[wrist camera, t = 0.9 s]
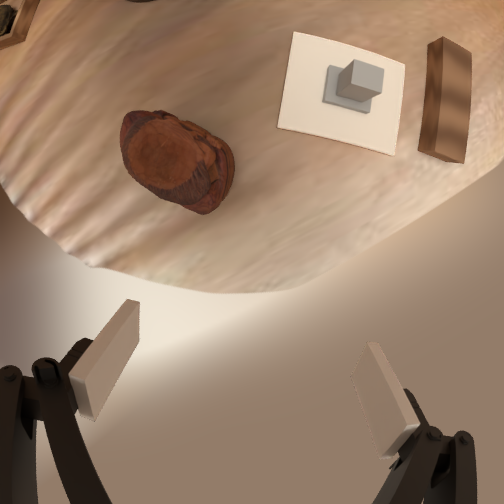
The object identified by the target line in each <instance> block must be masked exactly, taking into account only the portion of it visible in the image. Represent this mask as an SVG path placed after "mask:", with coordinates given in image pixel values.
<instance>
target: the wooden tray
mask: <svg viewBox="0 0 504 504" xmlns="http://www.w3.org/2000/svg"><path fill="white" fill-rule="evenodd" d="M5 1H7V0H0V4H1V3H3V2H5ZM39 1H40V0H23V1H22V3H21V6H20V8H19V10H18V13H17V15H16V18H15V21H14V23H13V26H12V29H11V31H10V33H9V34H6V35H4V36H1V37H0V50H1V49H4V48H6V47H9V46H12V45H14V44H17V43H20V42H23V41H25V39H26V36H27V33H28V30H29V27H30V24H31V21H32V19H33V16H34V13H35V11H36V8H37V6H38V4H39Z"/></svg>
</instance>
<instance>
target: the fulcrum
mask: <svg viewBox="0 0 504 504" xmlns="http://www.w3.org/2000/svg"><path fill="white" fill-rule="evenodd" d="M404 74H405V64H402V63H400V62H397V61H395V60H392V59H389V58H387V57H384V56H381V55H378V54H376V53H373V52H370V51H367V50H364V49H361V48H357V47H354V46H351V45H348V44H344V43H341V42H337V41H333V40H329V39H325V38H321V37H317V36H313V35H308V34H304V33H299V32H294V33H293V38H292V44H291V49H290V55H289V61H288V67H287V73H286V79H285V84H284V90H283V96H282V102H281V107H280V113H279V119H278V125H277V128H280V129H285V130H290V131H295V132H300V133H305V134H310V135H314V136H319V137H323V138H327V139H331V140H336V141H340V142H344V143H347V144H351V145H355V146H359V147H362V148H366V149H369V150H373V151H376V152H380V153H383V154H386V155H390V156H394V153H395V147H396V141H397V135H398V128H399V121H400V113H401V105H402V96H403V86H404Z"/></svg>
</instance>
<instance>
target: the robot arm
mask: <svg viewBox="0 0 504 504" xmlns="http://www.w3.org/2000/svg"><path fill="white" fill-rule="evenodd" d="M129 1H134V2H146V1H153V0H129ZM139 307H140V302H137V301H133V300H129V299H127V300H126V301H125V302H124V303H123V305H122V306H121V307H120V308H119V310H118V311H117V312H116V313H115V315H114V316H113V317H112V318H111V319H110V321H109V322H108V323H107V324H106V326H105V327H104V328H103V330H102V331H101V332H100V333H99V334H98V336H97V337H96V338H95V340H94V341H93V340H90V339H88V338H83V339H81V340H79V341H77V342H76V343H75V344H74V346H73V347H72V348H71V350H70V351H69V352H68V353H67V355H65V357H64V358H63V359H62V360H61V362H60V363H58V362H57V361H56V360H55V359H52V358H40V359H38V360H36V361H35V362H34V363H33V365H32V373H33V376H34V377H27V376H23V375H22V372H21V370H20V369H19V368H17V367H16V366H12V365H8V366H5V367H2V368H1V369H0V504H38V496H37V481H36V427H37V420H40V421H44V425H45V429H46V433H47V437H48V440H49V443H50V448H51V450H52V454H53V457H54V461H55V464H56V467H57V470H58V473H59V476H60V478H61V481H62V484H63V486H64V489H65V491H66V494H67V497H68V499H69V501H70V504H112V502H111V500H110V499H109V497H108V495H107V493H106V491H105V489H104V487H103V485H102V483H101V480H100V478H99V476H98V474H97V472H96V470H95V467H94V465H93V463H92V460H91V458H90V456H89V453H88V451H87V449H86V446H85V443H84V441H83V438H82V435H81V433H80V430H79V427H78V424H77V421H76V418H75V415H74V414H75V413H76V411H77V409H78V410H79V413H80V416H82V417H84V418H87V419H89V420H92V421H94V422H95V421H96V419H97V417H98V415H99V413H100V411H101V409H102V408H103V406H104V404H105V402H106V400H107V398H108V396H109V394H110V393H111V391H112V389H113V387H114V385H115V383H116V382H117V380H118V378H119V376H120V374H121V373H122V371H123V369H124V367H125V365H126V364H127V362H128V360H129V358H130V357H131V355H132V353H133V351H134V350H135V348H136V346H137V344H138V342H139ZM351 379H352V382H353V385H354V388H355V390H356V393H357V396H358V399H359V402H360V405H361V407H362V410H363V413H364V416H365V419H366V422H367V425H368V428H369V431H370V433H371V437H372V440H373V443H374V446H375V449H376V452H377V455H378V458H379V460H380V459H389V458H392V457H393V456H394V455H395V454H396V453H397V452H398V453H399V456H400V457H399V458H398V459H397V460H396V461H395V462H394V463H393V464H392V465H391V466H390V468H389V469H391V468H392V467H393V468H392V470H391V472H390V474H389V475H388V478H387V479H386V481H385V483H384V485H383V486H382V488H381V490H380V491H379V493H378V495H377V497H376V498H375V500H374V501H373V503H372V504H421V503H422V500H423V498H424V501H423V504H477V473H476V459H475V447H474V440H473V437H472V436H471V435H470V434H469V433H468V432H466V431H458V432H457V433H456V434H455V435H454V437H450V436H443V434H442V432H441V431H440V430H439V429H438V428H436V427H433V426H429V424H428V422H427V420H426V418H425V416H424V414H423V412H422V410H421V409H420V408H419V405H418V403H417V401H416V399H415V397H414V395H413V394H412V393H411V392H410V391H409V390H408V389H403V388H402V386H401V385H400V383H399V381H398V379H397V377H396V375H395V373H394V371H393V370H392V368H391V366H390V364H389V362H388V361H387V359H386V357H385V355H384V353H383V351H382V349H381V348H380V346H379V344H378V343H374V342H367V343H366V345H365V347H364V349H363V351H362V354H361V356H360V358H359V360H358V362H357V364H356V366H355V368H354V370H353V372H352V374H351Z"/></svg>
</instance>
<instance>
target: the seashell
mask: <svg viewBox="0 0 504 504" xmlns="http://www.w3.org/2000/svg"><path fill="white" fill-rule="evenodd" d="M17 13H18V10H17V11H14V10H13V8H11V6H10V5H1V6H0V37H1V36H4V34H5V33H6V31H7V30H8V28H9V27H10V26H11V24H12V23H13V21H14V20H15V18H16V15H17Z"/></svg>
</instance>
